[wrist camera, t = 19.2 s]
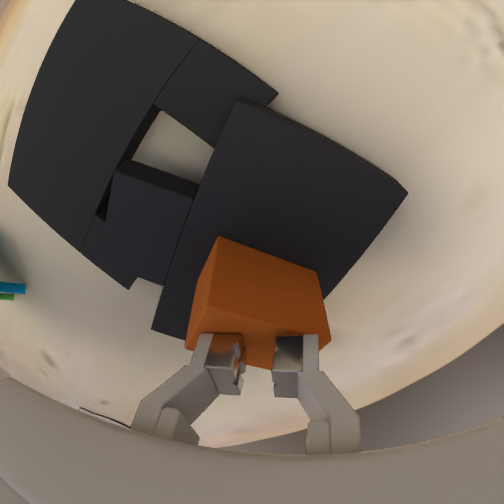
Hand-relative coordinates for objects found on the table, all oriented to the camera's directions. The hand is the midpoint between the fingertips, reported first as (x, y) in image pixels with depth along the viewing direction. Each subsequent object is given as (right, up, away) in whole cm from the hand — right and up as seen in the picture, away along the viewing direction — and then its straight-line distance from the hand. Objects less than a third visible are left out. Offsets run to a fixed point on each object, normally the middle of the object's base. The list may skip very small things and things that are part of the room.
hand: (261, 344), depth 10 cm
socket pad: (-8, +10, +3) cm, 13 cm away
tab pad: (-2, +4, +4) cm, 6 cm away
